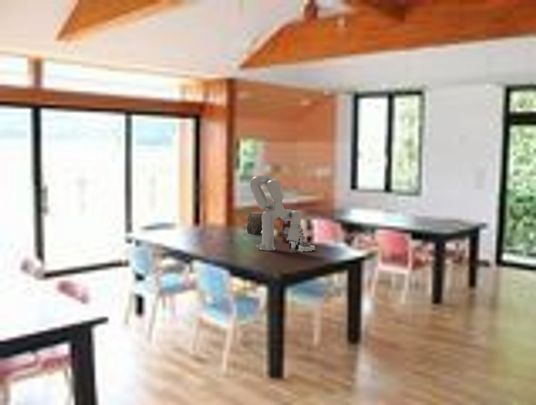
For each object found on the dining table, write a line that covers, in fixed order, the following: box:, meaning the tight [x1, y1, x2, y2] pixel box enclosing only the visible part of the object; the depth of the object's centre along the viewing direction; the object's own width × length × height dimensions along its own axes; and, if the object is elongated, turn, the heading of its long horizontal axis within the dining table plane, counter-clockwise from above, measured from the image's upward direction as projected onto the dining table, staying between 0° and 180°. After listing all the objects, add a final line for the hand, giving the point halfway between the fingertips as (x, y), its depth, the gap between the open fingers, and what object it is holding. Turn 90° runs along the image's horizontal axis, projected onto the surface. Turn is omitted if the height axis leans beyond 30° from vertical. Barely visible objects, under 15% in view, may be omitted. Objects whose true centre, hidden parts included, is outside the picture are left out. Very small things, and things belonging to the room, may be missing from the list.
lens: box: [290, 241, 298, 254], centre depth 440 cm, size 5×5×9 cm
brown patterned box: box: [281, 218, 306, 243], centre depth 485 cm, size 9×19×20 cm, turn 78°
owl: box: [246, 211, 263, 236], centre depth 527 cm, size 13×13×20 cm
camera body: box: [297, 241, 316, 253], centre depth 451 cm, size 13×9×6 cm
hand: (293, 249), depth 440 cm, fingers closed on lens, 5 cm apart
